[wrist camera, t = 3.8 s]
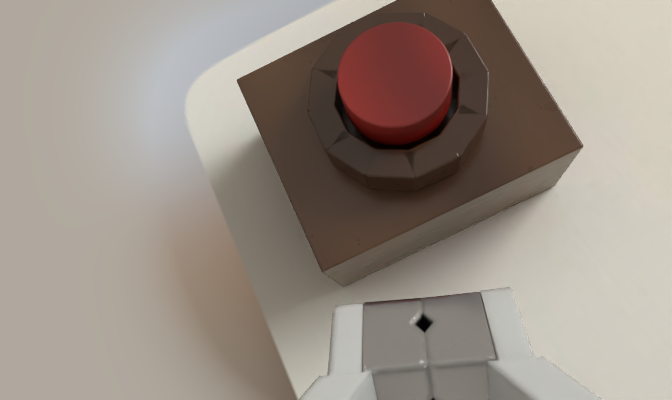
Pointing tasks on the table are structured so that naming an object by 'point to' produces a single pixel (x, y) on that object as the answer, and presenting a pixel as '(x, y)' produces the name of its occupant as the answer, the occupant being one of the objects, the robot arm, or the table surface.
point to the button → (396, 83)
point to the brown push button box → (415, 158)
